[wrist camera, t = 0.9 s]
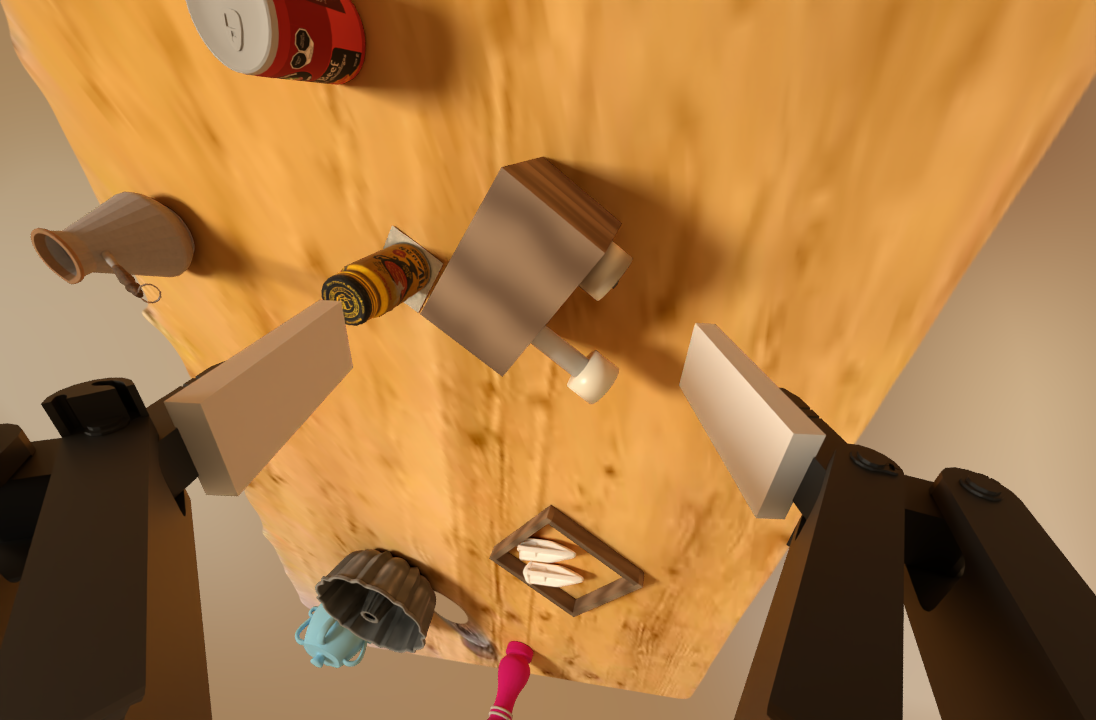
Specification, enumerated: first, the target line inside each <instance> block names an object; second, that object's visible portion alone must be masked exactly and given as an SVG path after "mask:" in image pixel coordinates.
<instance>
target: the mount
mask: <svg viewBox="0 0 1096 720" xmlns="http://www.w3.org/2000/svg"><path fill="white" fill-rule="evenodd" d="M621 224H622V223H621V222H620V221H618V220H617V219H616V218H615V217H614V216H612V215H611V214H610V213H609V212H608V211H607V210H605V209H604V208H603V207H602V206H601V205H599V204H598V203H597V202H596V201H595V200H594V199H592V198H591V197H590V196H589V195H588V194H587V193H585V192H584V191H583V190H582V189H581V188H579V187H578V186H577V185H576V184H575V183H574V182H572V181H571V180H570V179H569V178H568V177H567V176H565V175H564V174H563V173H562V172H561V171H559V170H558V169H557V168H556V167H555V166H554V165H552V164H551V163H550V162H549V161H548V160H546V159H545V158H544V157H540V158H536V159H532V160H528V161H524V162H520V163H516V164H512V165H508V166H505V167H501V169H500V171H499V173H498V175H497V176H496V178H495V180H494V182H493V184H492V185H491V187H490V189H489V191H488V193H487V194H486V196H485V198H484V200H483V202H482V203H481V205H480V207H479V209H478V211H477V212H476V214H475V216H474V218H473V220H472V221H471V223H470V225H469V227H468V229H467V231H466V232H465V234H464V236H463V238H462V240H461V241H460V243H459V245H458V247H457V249H456V250H455V252H454V254H453V256H452V258H451V259H450V261H449V263H448V265H447V267H446V268H445V270H444V272H443V274H442V276H441V277H440V279H439V281H438V283H437V285H436V286H435V288H434V290H433V292H432V294H431V295H430V297H429V299H428V301H427V303H426V304H425V306H424V308H423V310H422V312H421V313H420V314H421V315H422V316H423V317H425V318H426V319H427V320H429V321H430V322H431V323H433V324H434V325H435V326H437V327H438V328H439V329H440V330H442V331H443V332H444V333H446V334H447V335H448V336H450V337H451V338H452V339H454V340H455V341H456V342H458V343H459V344H460V345H462V346H463V347H464V348H465V349H467V350H468V351H469V352H471V353H472V354H473V355H475V356H476V357H477V358H479V359H480V360H481V361H483V362H484V363H485V364H486V365H488V366H489V367H490V368H492V369H493V370H494V371H496V372H497V373H498V374H500V375H501V376H502V377H503V375H504V374H505V373H506V372H507V371H508V369H509V368H510V367H511V366H512V365H513V363H514V362H515V361H516V360H517V359H518V357H519V356H520V355H521V354H522V353H523V351H524V350H525V349H526V348H527V347H528V345H529V344H530V343H531V342H532V341H533V339H534V338H535V337H536V336H537V335H538V333H539V332H540V331H541V330H542V329H543V327H544V326H545V325H546V324H547V323H548V321H549V320H550V319H551V318H552V317H553V315H554V314H555V313H556V312H557V311H558V309H559V308H560V307H561V306H562V304H563V303H564V302H565V301H566V300H567V298H568V297H569V296H570V295H571V294H572V292H573V291H574V290H575V289H576V288H577V286H580V287H581V288H582V289H583V290H585V291H586V292H587V293H588V294H590V295H591V296H592V297H593V298H594V299H596V300H597V301H599V300H600V299H601V298H603V297H604V296H605V295H606V294H607V293H608V292H609V290H610V289H611V288H613V289H614V287H615V286H616V285H617V284H618V282H619V279H620V278H621V276H622V275H623V274H624V272H625V271H626V270H627V268H628V267H629V265H630V264H631V262H632V260H633V258H632V257H631V256H630V255H628V254H627V253H626V252H625V251H624V250H623V249H621V248H620V247H619V246H618V245H617V244H615V243H614V242H613V241H612V240H613V238H614V236H615V235H616V233H617V231H618V229H619V227H620V226H621Z"/></svg>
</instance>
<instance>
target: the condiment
mask: <svg viewBox="0 0 1096 720" xmlns="http://www.w3.org/2000/svg"><path fill="white" fill-rule="evenodd" d="M442 265H443V263H442V262H441V261H439V260H438V259H437V258H435V257H434V256H433V255H431V254H430V253H429V252H428V251H426V250H425V249H424V248H423V247H421V246H420V245H418V244H417V243H416V242H414V241H413V240H412V239H410V238H409V237H408V236H406V235H405V234H403V233H402V232H400V231H399V230H398V229H396V228H395V227H394V226H392V227H391V230H390V233H389V235H388V238H387V240H386V243H385V246H384V248H383V250H380V251H378V252H376V253H374V254H371V255H369V256H367V257H365V258H362V259H360V260H358V261H356V262H353V263H351V264H349V265H347V266H345V267H344V268H343V269H342V270H341V272H339V273H337V274H336V275H334V276H332V277H330V278H328V279H327V281H326V282H324V284H323V287H322V299H323V300H329V301H341V304H342V309H343V315H344V320H345V324H347V325H354V326H357V325H359V324H363V323H365V322H366V321H367V320H370V319H371V318H376V317H380V316H382V315H384V314H385V313H386V312H388V311H391V310H393V308H395V307H396V306H398V305H399V304H401V303H402V302H404V303H405V304H407V305H409V306H410V307H411V308H412V309H414V310H415V311H416V312H419V310H420V308H421V306H422V305H423V302H424V300H425V299H426V296H427V295H428V293H429V291H430V289H431V287H432V285H433V283H434V281H435V279H436V277H437V275H438V273H439V271H440V270H441V267H442Z"/></svg>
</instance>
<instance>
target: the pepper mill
mask: <svg viewBox="0 0 1096 720" xmlns="http://www.w3.org/2000/svg"><path fill="white" fill-rule="evenodd" d="M506 654H507V655H506V656H505V657H503V658H502V660H501V661H500V664H499V670H498V692H497V697H496V701H495V703H494V706H492V707H491V708H490V709H491V710H490V712H489V718H488V719H487V720H512V718H513V715H512V710H513V706H514V703H515V701H516V699H517V697H518V695H519V693H520V692H521V690H522V689H523V688H524V686H525V685H526V683H527V681H528V679H529V676H530V667H529V663H530V662H531V660H532V657H533V651H532V649H531V648H530V647H529V646H527V645H525V644H524V643H521V642H517V641H511V642H509V644H508V646H507V649H506Z"/></svg>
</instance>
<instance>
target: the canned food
mask: <svg viewBox="0 0 1096 720" xmlns="http://www.w3.org/2000/svg"><path fill="white" fill-rule="evenodd" d="M186 3H187V7H188V10H189V13H190V15H191V18H192V20H193V23H194V25H195V27H196V29H197V31H198V33H199V35H200V37H201V38H202V40H203V41H204V43H205V44H206V46H207V47H208V49H209V50H210V51H211V52H212V53H213V55H214V56H215V57H216V58H217V59H218V60H219V61H220V62H222V63H223V64H224V65H225V66H227V67H228V68H230V69H231V70H234V71H236V72H239V73H244V74H246V75H254V76H261V77H269V78H279V79H289V80H298V81H308V82H317V83H327V84H336V85H338V84H344V83H346V82H348V81H350V80H352V79H353V78H354V77H355V76H356V75H357V74H358V73H359V71H360V70H361V68H362V65H363V62H364V57H365V35H364V30H363V25H362V22H361V19H360V17H359V14H358V12H357V10H356V8H355V6H354V4H353V3H352V1H351V0H186Z"/></svg>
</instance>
